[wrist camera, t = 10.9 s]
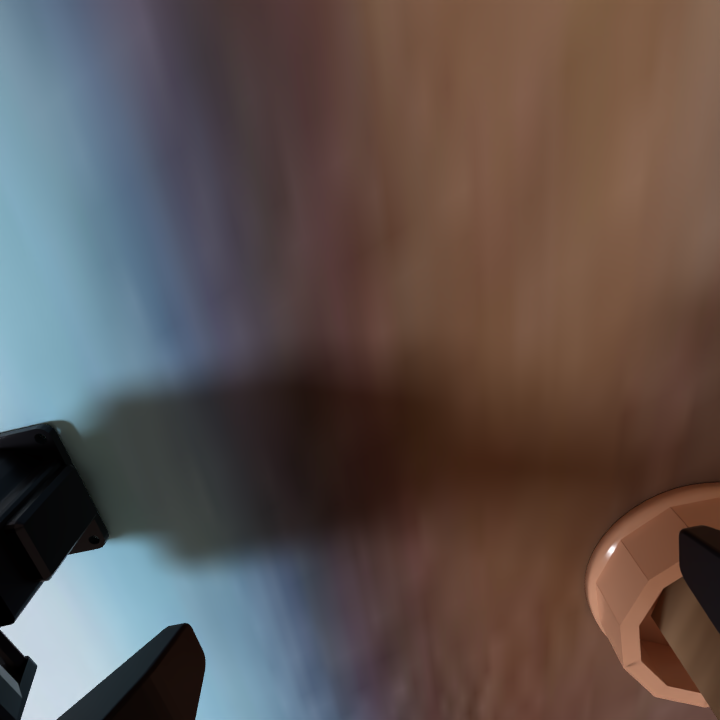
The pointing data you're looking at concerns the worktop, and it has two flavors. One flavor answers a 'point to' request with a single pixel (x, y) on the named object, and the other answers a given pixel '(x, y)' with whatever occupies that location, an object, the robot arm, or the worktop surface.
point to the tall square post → (691, 638)
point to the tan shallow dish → (647, 584)
